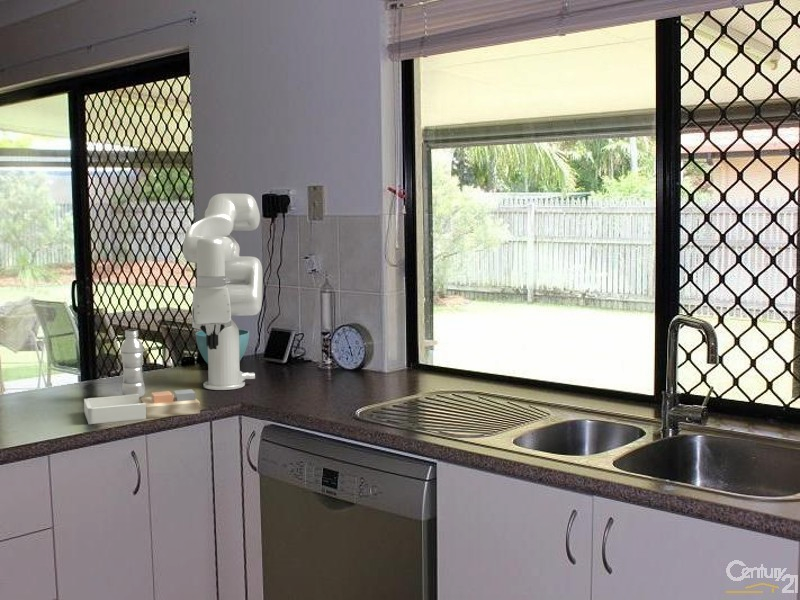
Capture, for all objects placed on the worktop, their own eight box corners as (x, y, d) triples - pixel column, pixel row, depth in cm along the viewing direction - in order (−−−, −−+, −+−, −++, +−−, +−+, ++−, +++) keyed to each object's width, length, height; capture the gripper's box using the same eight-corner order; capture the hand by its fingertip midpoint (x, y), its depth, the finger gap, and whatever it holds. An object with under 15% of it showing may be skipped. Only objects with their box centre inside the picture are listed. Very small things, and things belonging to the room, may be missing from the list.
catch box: (139, 408, 244) (138, 394, 243) (146, 418, 232) (145, 403, 231) (84, 413, 238) (83, 398, 237) (88, 424, 226) (88, 408, 225)
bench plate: (191, 403, 249) (191, 393, 249) (200, 413, 238) (199, 402, 238) (140, 408, 243) (140, 397, 243) (147, 418, 232) (146, 407, 232)
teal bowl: (252, 370, 299) (252, 335, 297) (197, 373, 294) (197, 337, 292) (246, 361, 316) (246, 327, 314) (194, 363, 311) (194, 329, 309)
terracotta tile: (170, 398, 243) (169, 390, 243) (173, 401, 238) (173, 394, 238) (151, 399, 241) (151, 392, 241) (154, 403, 236) (154, 396, 236)
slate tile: (191, 396, 245) (191, 389, 245) (195, 399, 241) (195, 392, 241) (173, 397, 243) (173, 390, 243) (176, 401, 239) (176, 394, 238)
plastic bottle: (150, 396, 258) (148, 329, 256) (135, 401, 252) (133, 332, 250) (131, 395, 260) (129, 328, 258) (117, 399, 254) (114, 331, 252)
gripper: (234, 281, 248) (235, 345, 250) (181, 282, 242) (182, 348, 244) (241, 283, 241) (242, 349, 243) (186, 284, 235) (187, 352, 237)
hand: (212, 348), depth 244 cm, fingers closed
